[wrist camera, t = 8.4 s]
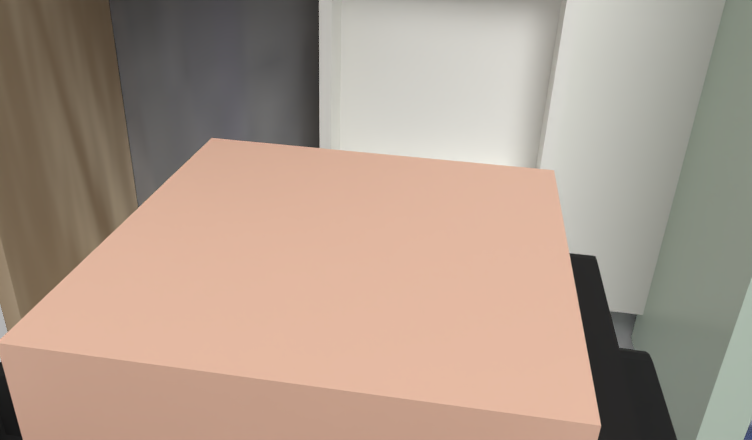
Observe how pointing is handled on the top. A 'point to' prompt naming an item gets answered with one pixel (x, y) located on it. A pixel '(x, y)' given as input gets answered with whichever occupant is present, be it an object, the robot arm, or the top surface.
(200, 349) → the block
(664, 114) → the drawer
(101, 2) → the caddy
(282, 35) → the top surface
